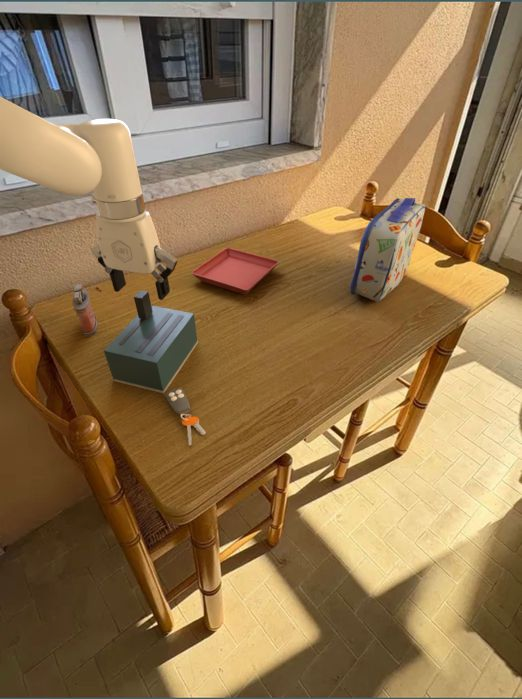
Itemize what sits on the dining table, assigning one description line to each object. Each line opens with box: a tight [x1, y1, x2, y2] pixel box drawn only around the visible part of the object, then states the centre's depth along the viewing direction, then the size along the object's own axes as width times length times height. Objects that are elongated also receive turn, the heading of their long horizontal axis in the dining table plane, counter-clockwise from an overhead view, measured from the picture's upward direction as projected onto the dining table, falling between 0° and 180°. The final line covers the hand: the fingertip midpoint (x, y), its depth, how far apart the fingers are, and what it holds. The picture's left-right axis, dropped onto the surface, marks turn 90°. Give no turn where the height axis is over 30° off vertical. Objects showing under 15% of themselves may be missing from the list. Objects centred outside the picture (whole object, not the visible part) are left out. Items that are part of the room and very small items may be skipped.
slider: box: [133, 289, 153, 320], centre depth 77 cm, size 2×3×5 cm
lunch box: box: [349, 197, 426, 303], centre depth 98 cm, size 28×10×22 cm, turn 148°
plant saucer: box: [191, 247, 280, 295], centre depth 106 cm, size 18×18×3 cm
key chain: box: [164, 387, 207, 447], centre depth 69 cm, size 13×4×2 cm, turn 30°
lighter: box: [72, 283, 99, 337], centre depth 86 cm, size 8×3×10 cm, turn 17°
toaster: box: [103, 304, 199, 395], centre depth 78 cm, size 11×16×8 cm
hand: (142, 292), depth 75 cm, fingers open, 9 cm apart
